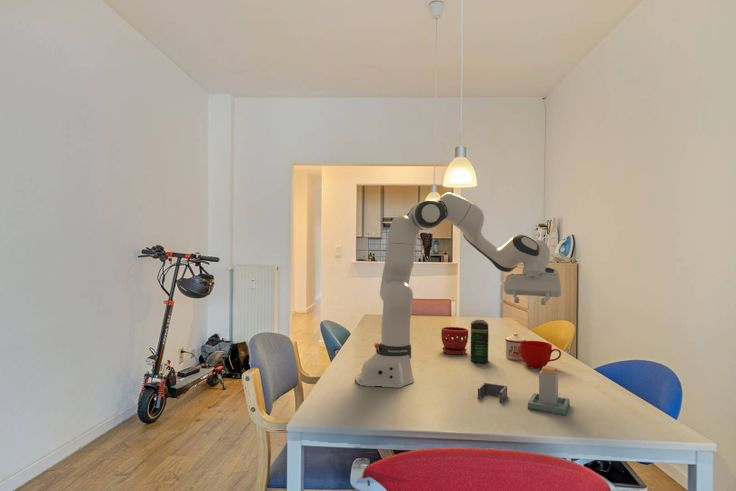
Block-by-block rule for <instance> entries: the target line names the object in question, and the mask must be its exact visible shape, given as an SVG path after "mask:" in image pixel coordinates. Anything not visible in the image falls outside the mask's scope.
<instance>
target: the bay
mask: <svg viewBox="0 0 736 491" xmlns="http://www.w3.org/2000/svg"><path fill="white" fill-rule="evenodd" d="M485 394H487V395H488V394H489V395H494V396H499V398H498V399H499V402H498V403H500V404H503V402H504V401H505V400H506V399H507V397H508V385H502V384H497V383H491V382H490V383H489V382H483V383H482V384H480V386H479V387H477V400H480V399H482V398H483V397H484V396H485Z"/></svg>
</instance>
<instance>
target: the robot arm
mask: <svg viewBox="0 0 736 491" xmlns="http://www.w3.org/2000/svg"><path fill="white" fill-rule="evenodd" d="M444 221H446V222H449V223H450V224H452V226H454V227H456V228H457V229H459V230H460V231H461V232H462V234H463V238H464V239H465V240H466V242H467V243H469V245H470V246H472V247H473V248H474V249H475V250H477V251H478V253H480V254H481V255H482V256H484V257H486V259H488V260H489V261H490V262H491V263H492V264H493V266H494V267H495V268H496V269H497V270H499V271H501V272H504V273H510V272H512V271H513V270H515V268H517V267H518V266H519V264H521V263H522V264H523V267H522V268H523V269H522V273H510V274H508V275H506V276H505V282H504V285H503V291H504V293H505V294H506V295H509V296H511V295H512V297H513V302H514V304H519V303H520V298H519V296H529V297H530V296H532V297H542V298H541V299H540V300H541V301H540V304H541V305H543V306H546V305H547V302H548V301H549V300H550V299H551V297H552V298H559V297H561V296H562V284H561V279H560V273H559V271H558V269H556V268H551V267H549V264H550V248H549V246H548V244H547V243H546V242H545V241H544V240H542V239H533V238H531V237H530V236H527V235H524V234H515V235H514V236H512V237H511V238H510V239H508V240H507V242H506V243H505V244H503V245H502V246H501V247H498V246H497V247H496V246H495V245H494V244H493V243H492V242H490V241H489V240H488V239H487V238H486V237H485V236H484V235H483V234H482V229H483V227H484V222H485V216H484V212H483V210H482V209H481V208H480V207H479V206H478V205H476V204H474V203H473V202H472V201H469V200H467V199H466V198H464V197H462V196H460V195H458V194H455V193H452V192H446V193H444V194H442V195H441V196H440V197H439V198H438V199H426V200H422V201H419V202H418V203H416V204H415V205H414V206H413V207H412V208H411V209H410V210H409V212H408V213H407V215H398V216H396V217H394V218H393V219H392V221H391V224H390V226H389V231H388V235H387V243H386V251H385V259H384V266H383V271H382V276H381V280H380V282H381V283H380V288H379V296H380V299H381V301H382V304H383V306H382V318H381V333H380V334H381V342H380V343H379V342H375V343H374V345H373V346H374V348H375V351H376V353H375V354H373V355H372V356H371V357H369V358H368V359H367V360H365V361H364V362H363V365H362V368H361V372H360V373H358V374H357V375H356V376H355V382H357V383H358V384H357V383H356V384H357V385H359V384H360V385H359V386H361V385H365V386H364V387H375V386H382V387H381V388H396V389H397V388H398V389H399V388H403V387H404V386H407V385H410V384H412V383H414V381H415V378H414V376H413V369H412V364H411V362H412V361H411V358H412V344H411V318H412V317H411V316H412V309H413V298H414V293H413V289H412V288H411V286H410V285H409V284H410V279H411V275H412V271H413V267H414V263H415V262H414V261H415V252H416V245H417V244H416V242H417V241H416V240H417V237H418V234H419V232H420V231H423V230H430V229H433V228H435V227H437V226H439V225H440V224H441V223H442V222H444Z"/></svg>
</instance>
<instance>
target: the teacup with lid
mask: <svg viewBox="0 0 736 491" xmlns="http://www.w3.org/2000/svg"><path fill="white" fill-rule="evenodd" d="M518 334H519V333H518V332H514V333H513V334H511V335H510V336H507V337H506V338H505V339H504V340H505V358H506V359H508V360H511V361H524V360H523V359H522V356H521V351H520V342H522V341H527V340H526V339H525V337H522V336H520V335H518Z"/></svg>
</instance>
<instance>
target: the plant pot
mask: <svg viewBox="0 0 736 491" xmlns="http://www.w3.org/2000/svg"><path fill="white" fill-rule="evenodd" d="M440 331H441V333H440V334H441V342H442V345H443V347H442V351H443V352H444V353H447V354H450V355H454V356H455V355H462V354H465V353H466V352H467V348H466V347H467V345H468V340H469V329H468V328H466V327H458V326H444V327H442V328H441V330H440Z"/></svg>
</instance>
